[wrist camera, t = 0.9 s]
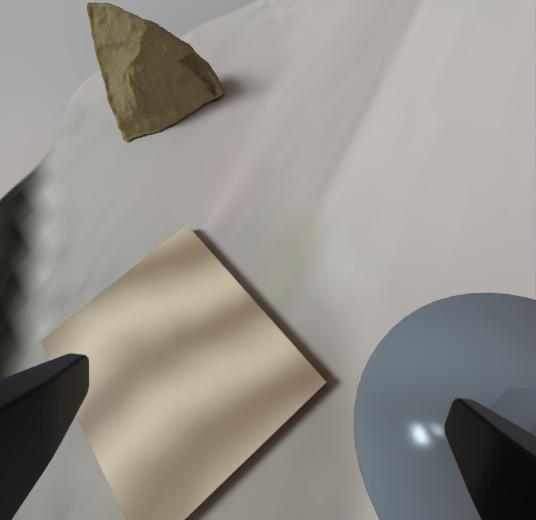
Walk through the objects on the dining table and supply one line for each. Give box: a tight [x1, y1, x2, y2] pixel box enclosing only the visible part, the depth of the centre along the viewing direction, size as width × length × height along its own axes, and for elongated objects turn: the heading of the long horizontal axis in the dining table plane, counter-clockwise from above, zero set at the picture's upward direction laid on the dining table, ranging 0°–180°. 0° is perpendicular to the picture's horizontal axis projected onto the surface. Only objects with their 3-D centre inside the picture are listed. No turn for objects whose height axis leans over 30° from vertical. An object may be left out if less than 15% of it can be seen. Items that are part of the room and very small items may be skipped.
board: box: [41, 225, 326, 520], centre depth 23 cm, size 16×14×1 cm
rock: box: [87, 3, 224, 142], centre depth 31 cm, size 11×9×10 cm
